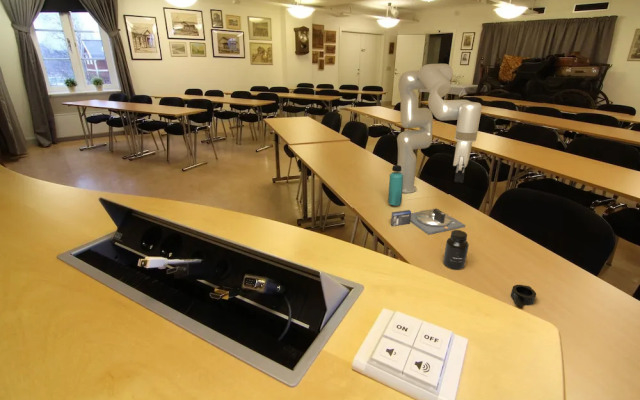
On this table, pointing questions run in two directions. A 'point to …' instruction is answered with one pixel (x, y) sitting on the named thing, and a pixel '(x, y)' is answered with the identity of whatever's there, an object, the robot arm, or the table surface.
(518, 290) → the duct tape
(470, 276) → the table surface
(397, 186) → the beverage bottle
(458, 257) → the supplement bottle
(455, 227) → the dial plate
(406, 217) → the mini dv tape
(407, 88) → the robot arm
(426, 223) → the dial
